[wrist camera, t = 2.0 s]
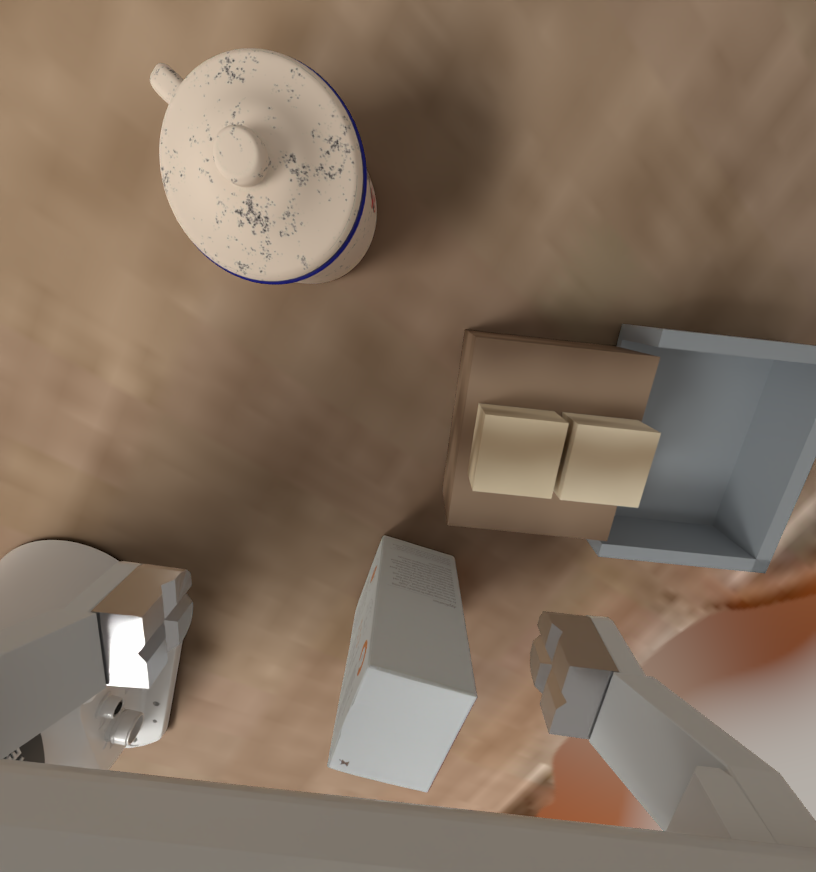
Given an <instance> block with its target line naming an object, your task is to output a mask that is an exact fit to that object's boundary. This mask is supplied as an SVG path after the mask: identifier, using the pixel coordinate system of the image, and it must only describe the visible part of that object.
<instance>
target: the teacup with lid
mask: <svg viewBox="0 0 816 872" xmlns="http://www.w3.org/2000/svg"><path fill="white" fill-rule="evenodd" d="M150 83H151V85H152V87H153V89H154V90H155V91H156V92H157V93H158V94H159V95H160V96H161V97H162V98H163V99H164V100H165V101H166V102H167V103H168V104H169V105H168V108H167V110H166V113H165V116H164V120H163V124H162V129H161V134H160V145H159V158H160V170H161V176H162V181H163V185H164V189H165V193H166V196H167V198H168V201H169V204H170V206H171V208H172V211H173V213H174V215H175V217H176V219H177V220H178V222H179V224H180V225H181V227H182V229H183V230H184V232H185V233H186V234H187V236H188V237H189V238H190V240H191V241H192V242H193V243H194V245H195V246H196V247H197V248H198V249H199V250H200V251H201V252H202V253H203V254H204V255H205V256H206V257H207V258H208V259H210V260H211V261H212V262H213V263H215V264H216V265H217V266H219V267H221V268H222V269H224V270H225V271H227V272H229V273H231V274H233V275H235V276H237V277H240V278H242V279H245V280H248V281H252V282H256V283H261V284H288V283H293V282H297V283H306V284H320V283H326V282H330V281H333V280H335V279H338V278H340V277H342V276H343V275H345V274H347V273H348V272H349V271H351V270H352V269H353V268H354V267H355V266H356V265H357V264H358V263H359V262H360V261H361V259H362V258H363V257H364V255H365V254H366V252H367V250H368V248H369V246H370V244H371V242H372V239H373V236H374V232H375V227H376V220H377V204H376V197H375V192H374V188H373V185H372V182H371V179H370V177H369V174H368V171H367V168H366V160H365V154H364V149H363V145H362V141H361V138H360V135H359V132H358V129H357V127H356V124H355V122H354V120H353V118H352V116H351V114H350V112H349V110H348V109H347V107H346V105H345V104H344V102H343V101H342V99H341V98H340V97H339V95H338V94H337V93H336V91H335V90H334V89H333V88H332V87H331V86H330V85H329V84H328V82H326V81H325V80H324V79H323V78H322V77H321V76H320V75H319V74H318V73H316V72H315V71H314V70H312V69H311V68H310V67H308V66H306V65H305V64H303V63H301V62H300V61H298V60H296V59H293V58H291V57H289V56H286V55H284V54H281V53H278V52H275V51H270V50H266V49H258V48H242V49H235V50H231V51H227V52H223V53H221V54H218V55H216V56H213V57H211V58H210V59H208V60H206V61H204V62H203V63H202V64H200V65H199V66H198V67H196V68H195V69H194V70H193V71H192V72H191V73H190V74H189V75H188V76H187V77H186V78H185V79H184V80H183V79H182V78H181V77H180V76H179V75H178V74H177V73H176V72H175V71H174V70H173V69H172V68H171V67H170V66H168V65H167V64H164V63H159V64H157V65H156V66H155V68H154V70H153V72H152V73H151V76H150Z"/></svg>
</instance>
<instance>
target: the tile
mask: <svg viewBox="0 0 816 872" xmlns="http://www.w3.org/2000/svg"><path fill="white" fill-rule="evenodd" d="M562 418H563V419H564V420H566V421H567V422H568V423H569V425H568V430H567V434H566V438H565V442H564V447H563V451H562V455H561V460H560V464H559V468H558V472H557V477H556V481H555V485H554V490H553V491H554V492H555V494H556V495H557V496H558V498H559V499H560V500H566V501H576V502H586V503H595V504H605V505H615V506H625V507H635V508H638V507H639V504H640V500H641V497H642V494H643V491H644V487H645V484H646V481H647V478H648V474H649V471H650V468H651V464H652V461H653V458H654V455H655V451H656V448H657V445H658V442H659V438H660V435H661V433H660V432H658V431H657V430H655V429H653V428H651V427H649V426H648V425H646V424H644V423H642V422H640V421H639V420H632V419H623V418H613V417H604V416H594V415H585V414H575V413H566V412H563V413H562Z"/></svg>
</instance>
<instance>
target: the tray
mask: <svg viewBox="0 0 816 872" xmlns="http://www.w3.org/2000/svg"><path fill="white" fill-rule="evenodd" d="M617 347H622V348H626V349H630V350H634V351H638V352H642V353H646V354H650V355H654V356H658V357H660V360H659V364H658V367H657V370H656V374H655V377H654V381H653V384H652V388H651V391H650V395H649V398H648V402H647V405H646V409H645V412H644V415H643V419H642V423H644V424H646V425H648V426H649V427H651V428H653V429H655V430H657V431H658V432H660V433H661V435H660V438H659V442H658V445H657V448H656V451H655V455H654V458H653V461H652V464H651V468H650V471H649V474H648V478H647V481H646V484H645V487H644V491H643V494H642V497H641V500H640V504H639V507H638V508H635V507H625V506H617V509H616V512H615V516H614V519H613V523H612V526H611V529H610V533H609V536H608V540H607V541H599V540H589V539H586V540H587V541H588V543H589V544H590V545H591V547H592V548H593V550H594V551H595V553H596V554H597V555H598V557H608V558H618V559H628V560H638V561H648V562H658V563H668V564H678V565H688V566H698V567H708V568H718V569H728V570H738V571H748V572H758V573H766V570H767V568H768V566H769V564H770V561H771V559H772V557H773V554H774V552H775V550H776V547H777V545H778V543H779V541H780V538H781V536H782V534H783V531H784V529H785V527H786V525H787V522H788V520H789V518H790V515H791V513H792V511H793V508H794V506H795V504H796V502H797V499H798V497H799V495H800V492H801V490H802V488H803V486H804V483H805V481H806V479H807V476H808V474H809V472H810V469H811V467H812V465H813V463H814V460H815V458H816V345H808V344H800V343H792V342H783V341H774V340H765V339H756V338H746V337H737V336H728V335H719V334H710V333H701V332H692V331H683V330H674V329H664V328H655V327H646V326H637V325H628V324H622V326H621V330H620V334H619V338H618V342H617Z"/></svg>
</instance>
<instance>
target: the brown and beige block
mask: <svg viewBox="0 0 816 872" xmlns="http://www.w3.org/2000/svg"><path fill="white" fill-rule="evenodd" d="M659 360H660V357H658V356H654V355H650V354H646V353H642V352H638V351H634V350H630V349H626V348H622V347H617V346H610V345H600V344H591V343H582V342H573V341H564V340H554V339H545V338H536V337H527V336H518V335H509V334H499V333H490V332H481V331H472V330H465V333H464V340H463V347H462V354H461V361H460V368H459V375H458V382H457V389H456V396H455V403H454V410H453V417H452V424H451V431H450V438H449V445H448V452H447V459H446V466H445V473H444V480H443V487H442V490H443V498H444V505H445V512H446V519H447V525H450V526H460V527H470V528H480V529H490V530H500V531H510V532H520V533H530V534H539V535H549V536H559V537H569V538H579V539H589V540H599V541H607V540H608V536H609V533H610V529H611V526H612V523H613V519H614V516H615V512H616V509H617V506H615V505H605V504H595V503H586V502H576V501H566V500H560V499H559V498H558V496H557V495H556V494H555V492H554V491H553V494H552V498H551V499H547V498H537V497H527V496H517V495H508V494H498V493H488V492H478V491H472V487H471V484H470V481H469V477H468V474H467V473H468V467H469V460H470V454H471V448H472V442H473V435H474V429H475V423H476V417H477V411H478V404H479V403H481V404H491V405H500V406H509V407H519V408H528V409H538V410H547V411H555V412H556V413H557V414H558V415H559V416H561V417H562V413H563V412H566V413H575V414H585V415H594V416H604V417H613V418H623V419H632V420H639V421H640V422H642V419H643V415H644V412H645V409H646V405H647V402H648V398H649V395H650V391H651V388H652V384H653V381H654V377H655V374H656V370H657V367H658V364H659Z"/></svg>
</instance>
